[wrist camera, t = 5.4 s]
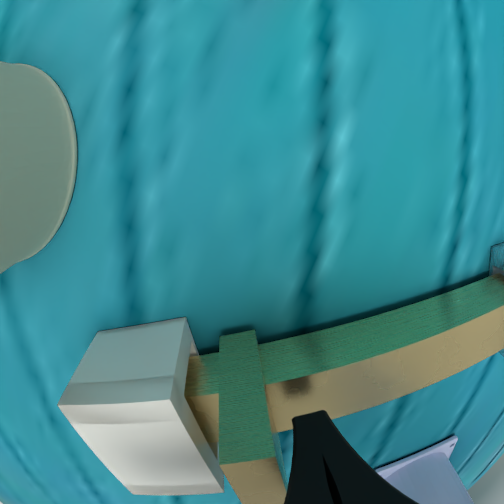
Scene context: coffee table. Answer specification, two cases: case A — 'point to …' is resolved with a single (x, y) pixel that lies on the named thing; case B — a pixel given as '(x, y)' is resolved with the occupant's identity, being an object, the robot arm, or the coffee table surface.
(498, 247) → the sleeve
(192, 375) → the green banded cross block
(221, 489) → the socket
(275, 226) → the coffee table surface
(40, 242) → the can
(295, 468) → the robot arm
